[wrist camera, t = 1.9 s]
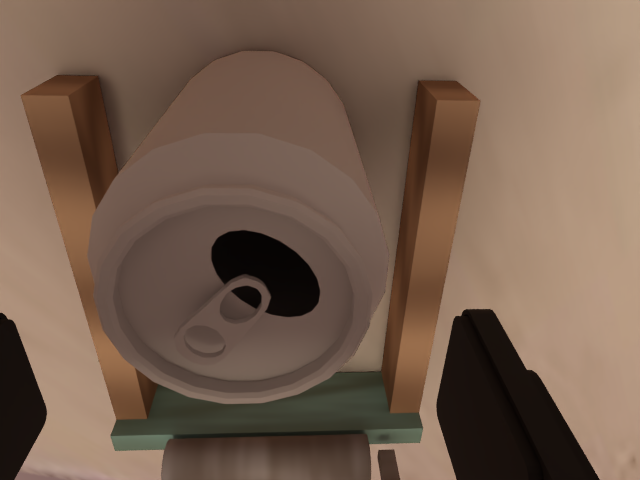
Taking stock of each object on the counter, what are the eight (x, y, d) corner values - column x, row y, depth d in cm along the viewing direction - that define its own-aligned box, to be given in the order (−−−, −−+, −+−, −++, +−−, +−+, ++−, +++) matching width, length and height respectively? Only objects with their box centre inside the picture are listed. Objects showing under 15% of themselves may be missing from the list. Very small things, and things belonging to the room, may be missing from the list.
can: (384, 137, 21) (468, 316, 11) (267, 241, 24) (247, 464, 13) (258, 1, 18) (213, 74, 8) (139, 136, 21) (-11, 323, 10)
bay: (56, 75, 19) (-89, 155, 12) (456, 81, 20) (550, 159, 13) (137, 397, 29) (85, 550, 22) (404, 392, 30) (440, 537, 23)
